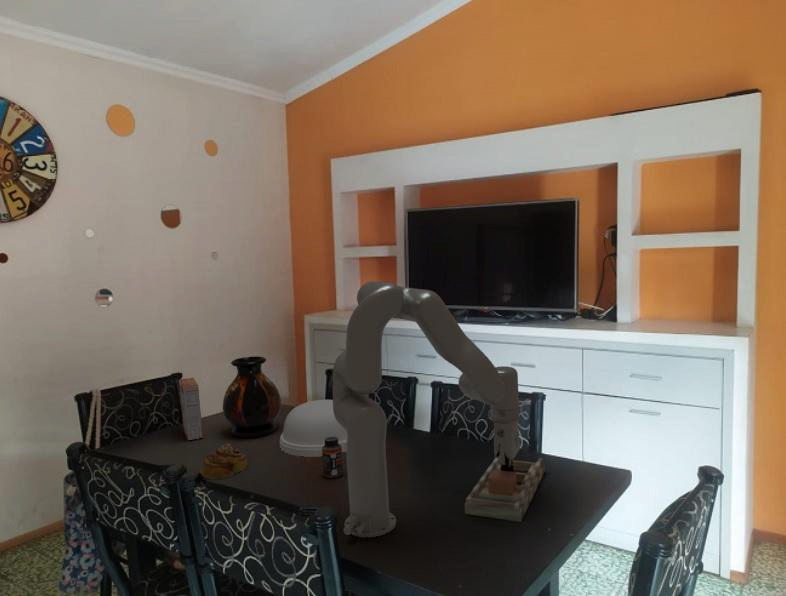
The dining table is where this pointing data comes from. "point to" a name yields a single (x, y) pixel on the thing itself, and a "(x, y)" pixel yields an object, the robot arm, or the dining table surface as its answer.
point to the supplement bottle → (332, 458)
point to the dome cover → (311, 429)
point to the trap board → (504, 505)
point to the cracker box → (191, 408)
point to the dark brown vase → (251, 400)
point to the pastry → (223, 462)
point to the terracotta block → (502, 482)
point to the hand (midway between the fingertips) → (507, 479)
